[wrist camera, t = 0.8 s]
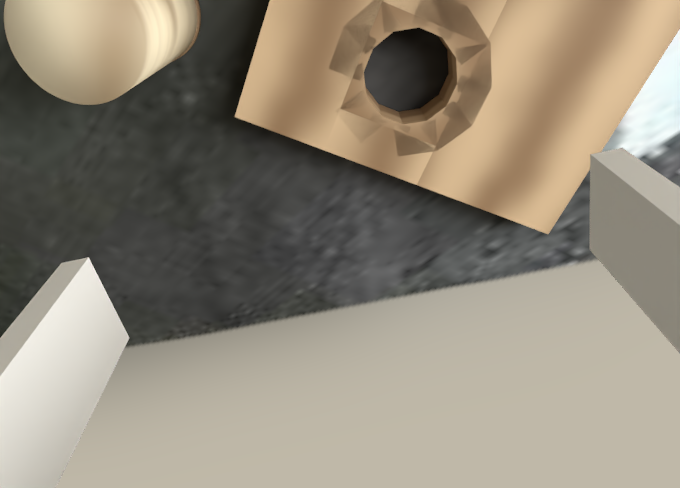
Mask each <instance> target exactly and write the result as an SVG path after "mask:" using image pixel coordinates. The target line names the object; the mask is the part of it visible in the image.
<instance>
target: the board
mask: <svg viewBox="0 0 680 488" xmlns="http://www.w3.org/2000/svg"><path fill="white" fill-rule="evenodd" d="M413 28H422V29H424V30H426V31H429V32H431V33H433V34H436V35H438V37H439V38H440V40H441V41H442V43H443V44H444V46H445V47H446V49H447V54H448V72H449V73H448V76H447V78H446V80H445V82H444V84H443V86H442V88H441V90H440V93H439V95H437V96H436V97H435V98H433V99H432V100H431V101H429V102H428V103H427V104H425V105H424V106H423V107H421V108H420V109H413V110H406V111H400V112H398V111H395V110H393V109H390V108H388V107H385V106H383V105H380V104H378V103H377V102H376V100H375V99H374V98H373V96H372V95H371V94H370V92H369V91H368V90H367V88H366V87H365V80H364V70H365V68H366V65H367V63H368V60H369V58H370V55H371V53H372V50H373V48H374V47H375V46H377V45H378V44H379V43H380V42H382V41H383V40H384V39H385V38H386V37H388V36H389V35H390V34H391V33H392V32H394V31H400V30H407V29H413ZM679 29H680V0H270V1H269V5H268V8H267V11H266V15H265V18H264V21H263V25H262V28H261V31H260V35H259V38H258V41H257V44H256V48H255V51H254V54H253V58H252V61H251V64H250V68H249V71H248V74H247V77H246V81H245V84H244V87H243V91H242V94H241V97H240V101H239V104H238V107H237V110H236V114H235V117H236V118H239V119H241V120H244V121H247V122H249V123H252V124H255V125H257V126H260V127H263V128H265V129H268V130H271V131H274V132H276V133H279V134H282V135H284V136H287V137H290V138H292V139H295V140H298V141H300V142H303V143H306V144H308V145H311V146H314V147H316V148H319V149H322V150H324V151H327V152H330V153H332V154H335V155H338V156H340V157H343V158H346V159H348V160H351V161H354V162H356V163H359V164H362V165H364V166H367V167H370V168H373V169H375V170H378V171H381V172H383V173H386V174H389V175H391V176H394V177H397V178H399V179H402V180H405V181H407V182H410V183H413V184H415V185H418V186H421V187H423V188H426V189H429V190H431V191H434V192H437V193H439V194H442V195H445V196H447V197H450V198H453V199H455V200H458V201H461V202H463V203H466V204H469V205H471V206H474V207H477V208H480V209H482V210H485V211H488V212H490V213H493V214H496V215H498V216H501V217H504V218H506V219H509V220H512V221H514V222H517V223H520V224H522V225H525V226H528V227H530V228H533V229H536V230H538V231H541V232H544V233H546V234H549V232H550V231H551V229H552V228H553V226H554V224H555V223H556V221H557V220H558V218H559V217H560V215H561V214H562V212H563V210H564V209H565V207H566V206H567V204H568V203H569V201H570V199H571V198H572V196H573V195H574V193H575V192H576V190H577V188H578V187H579V185H580V184H581V182H582V181H583V179H584V178H585V176H586V174H587V173H588V171H589V170H590V154H594V153H599V152H601V151H602V149H603V148H604V146H605V145H606V143H607V142H608V140H609V138H610V137H611V135H612V134H613V132H614V131H615V129H616V127H617V126H618V124H619V123H620V121H621V120H622V118H623V116H624V115H625V113H626V112H627V110H628V109H629V107H630V106H631V104H632V102H633V101H634V99H635V98H636V96H637V95H638V93H639V91H640V90H641V88H642V87H643V85H644V84H645V82H646V80H647V79H648V77H649V76H650V74H651V73H652V71H653V70H654V68H655V66H656V65H657V63H658V62H659V60H660V59H661V57H662V55H663V54H664V52H665V51H666V49H667V48H668V46H669V44H670V43H671V41H672V40H673V38H674V37H675V35H676V34H677V32H678V30H679Z"/></svg>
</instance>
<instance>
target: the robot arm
mask: <svg viewBox="0 0 680 488" xmlns="http://www.w3.org/2000/svg"><path fill="white" fill-rule="evenodd" d="M590 250H591V252H592V253H593V254H594V255H595V256H596V257H597V258H598V260H599V261H600V262H601V263H602V264H603V265H604V266H605V268H606V269H607V270H608V271H609V272H610V273H611V275H612V276H613V277H614V278H615V279H616V280H617V282H618V283H619V284H620V285H621V286H622V287H623V288H624V290H625V291H626V292H627V293H628V294H629V295H630V296H631V298H632V299H633V300H634V301H635V302H636V303H637V305H638V306H639V307H640V308H641V309H642V310H643V311H644V313H645V314H646V315H647V316H648V317H649V318H650V319H651V321H652V322H653V323H654V324H655V325H656V326H657V328H658V329H659V330H660V331H661V332H662V333H663V334H664V336H665V337H666V338H667V339H668V340H669V341H670V343H671V344H672V345H673V346H674V347H675V348H676V350H677V351H678V352H679V353H680V187H678V186H677V185H675V184H674V183H672V182H671V181H670V180H668V179H667V178H665V177H664V176H662V175H661V174H659V173H658V172H656V171H655V170H654V169H652V168H651V167H649V166H648V165H646V164H645V163H643V162H642V161H640V160H639V159H638V158H636V157H635V156H633V155H632V154H630V153H629V152H627V151H626V150H624V149H623V148H619V149H614V150H609V151H604V152H599V153H594V154H590ZM128 340H129V336H128V334H127V332H126V330H125V328H124V326H123V324H122V323H121V321H120V319H119V317H118V315H117V313H116V311H115V309H114V307H113V305H112V303H111V301H110V299H109V297H108V295H107V293H106V291H105V289H104V287H103V285H102V283H101V281H100V279H99V277H98V275H97V273H96V271H95V269H94V267H93V265H92V263H91V261H90V259H89V257H88V258H83V259H79V260H74V261H69V262H64V263H61V264H60V265H59V267H58V268H57V269H56V270H55V272H54V273H53V274H52V275H51V277H50V278H49V279H48V280H47V281H46V283H45V284H44V285H43V286H42V288H41V289H40V290H39V291H38V292H37V294H36V295H35V296H34V297H33V299H32V300H31V301H30V302H29V303H28V305H27V306H26V307H25V308H24V310H23V311H22V312H21V313H20V315H19V316H18V317H17V318H16V319H15V321H14V322H13V323H12V324H11V326H10V327H9V328H8V329H7V330H6V332H5V333H4V334H3V335H2V337H1V338H0V488H56V487H57V484H58V482H59V480H60V478H61V476H62V474H63V472H64V469H65V468H66V466H67V464H68V462H69V460H70V458H71V456H72V454H73V452H74V450H75V448H76V446H77V444H78V441H79V440H80V438H81V435H82V433H83V431H84V429H85V427H86V425H87V423H88V421H89V419H90V417H91V415H92V413H93V411H94V409H95V407H96V405H97V403H98V401H99V399H100V397H101V395H102V392H103V390H104V389H105V386H106V384H107V382H108V380H109V378H110V376H111V374H112V372H113V370H114V368H115V366H116V364H117V362H118V360H119V358H120V356H121V354H122V352H123V350H124V348H125V346H126V344H127V342H128Z"/></svg>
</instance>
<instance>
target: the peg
mask: <svg viewBox="0 0 680 488" xmlns="http://www.w3.org/2000/svg"><path fill="white" fill-rule="evenodd" d="M200 25H201V11H200V5H199V2H198V0H6V2H5V8H4V26H5V32H6V36H7V40H8V43H9V45H10V48H11V50H12V52H13V54H14V56H15V58H16V60H17V61H18V63H19V65H20V66H21V67H22V69H23V70H24V71H25V73H26V74H27V75H28V76H29V77H30V78H31V79H32V80H33V81H34V82H35V83H36V84H38V85H39V86H40V87H41V88H43V89H44V90H45V91H47V92H48V93H50V94H52V95H54V96H56V97H58V98H60V99H62V100H65V101H68V102H72V103H76V104H82V105H95V104H102V103H106V102H109V101H111V100H114V99H116V98H117V97H119V96H121V95H122V94H124V93H125V92H127V91H128V90H130V89H131V88H133V87H134V86H136V85H137V84H139V83H140V82H142V81H143V80H145V79H146V78H148V77H149V76H151V75H152V74H154V73H155V72H157V71H158V70H160V69H161V68H163V67H164V66H166V65H167V64H169V63H170V62H172V61H174V60H176V59H178V58H180V57H181V56H183V55H184V54H185V53H186V52H188V50H189V49H190V48H191V47H192V46H193V44H194V43H195V41H196V39H197V37H198V33H199V30H200Z"/></svg>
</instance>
